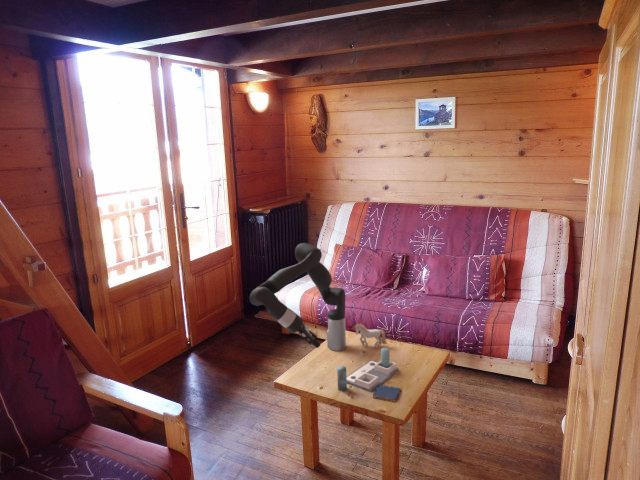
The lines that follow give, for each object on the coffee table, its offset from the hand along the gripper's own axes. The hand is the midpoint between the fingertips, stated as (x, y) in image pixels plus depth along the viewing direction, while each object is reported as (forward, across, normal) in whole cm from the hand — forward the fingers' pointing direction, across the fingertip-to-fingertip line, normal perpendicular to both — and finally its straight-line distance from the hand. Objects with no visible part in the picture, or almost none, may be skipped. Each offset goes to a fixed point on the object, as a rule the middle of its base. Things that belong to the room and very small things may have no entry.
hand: (317, 342), depth 198 cm
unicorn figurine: (+40, +36, -7) cm, 54 cm away
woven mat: (+37, -10, -3) cm, 38 cm away
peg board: (+35, +7, -2) cm, 35 cm away
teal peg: (+24, -1, +9) cm, 25 cm away
